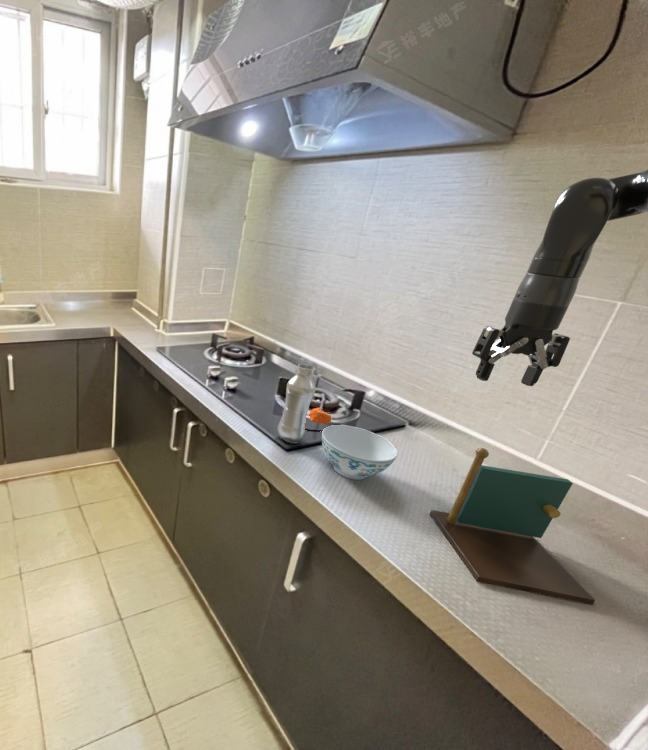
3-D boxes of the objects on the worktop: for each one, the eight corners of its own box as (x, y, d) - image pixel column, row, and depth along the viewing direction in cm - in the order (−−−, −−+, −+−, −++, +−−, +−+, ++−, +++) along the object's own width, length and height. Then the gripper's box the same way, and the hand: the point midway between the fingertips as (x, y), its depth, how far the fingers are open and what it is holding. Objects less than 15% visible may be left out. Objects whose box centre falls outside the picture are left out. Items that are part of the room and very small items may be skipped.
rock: (329, 413, 117) (333, 400, 115) (348, 434, 105) (353, 420, 104) (290, 410, 116) (293, 397, 115) (305, 430, 105) (308, 416, 103)
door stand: (520, 530, 74) (562, 453, 68) (592, 605, 59) (654, 515, 53) (429, 513, 76) (461, 438, 70) (476, 581, 62) (523, 493, 56)
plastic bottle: (302, 449, 96) (322, 373, 88) (274, 442, 98) (291, 368, 90) (302, 437, 101) (321, 365, 94) (275, 431, 103) (291, 360, 96)
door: (536, 533, 71) (567, 479, 67) (547, 544, 69) (581, 489, 64) (455, 518, 73) (480, 464, 69) (463, 529, 71) (490, 474, 66)
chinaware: (309, 447, 97) (316, 420, 94) (373, 458, 94) (383, 431, 91) (321, 484, 83) (330, 453, 80) (397, 498, 80) (409, 466, 78)
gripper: (515, 300, 68) (479, 385, 74) (602, 308, 67) (558, 394, 73) (485, 293, 75) (454, 371, 81) (563, 301, 74) (526, 379, 80)
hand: (504, 382), depth 77 cm, fingers open, 8 cm apart
